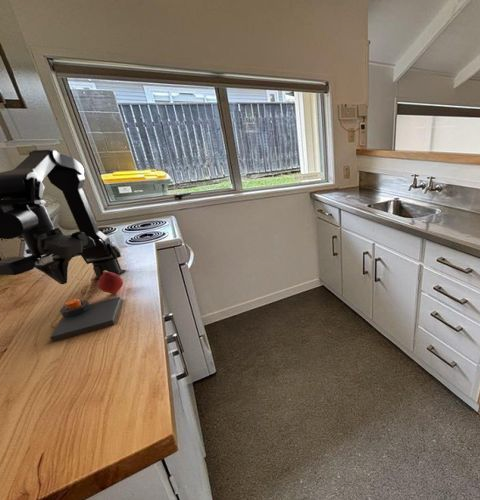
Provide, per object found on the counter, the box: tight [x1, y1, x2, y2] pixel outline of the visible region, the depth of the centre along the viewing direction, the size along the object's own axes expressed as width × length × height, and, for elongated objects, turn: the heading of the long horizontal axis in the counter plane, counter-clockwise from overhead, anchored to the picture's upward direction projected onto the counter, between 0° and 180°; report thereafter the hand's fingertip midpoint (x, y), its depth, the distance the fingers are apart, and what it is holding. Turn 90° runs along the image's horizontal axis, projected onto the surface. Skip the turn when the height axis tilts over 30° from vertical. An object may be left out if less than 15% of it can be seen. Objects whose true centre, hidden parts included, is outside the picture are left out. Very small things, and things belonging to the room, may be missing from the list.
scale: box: [49, 296, 123, 343], centre depth 75 cm, size 14×12×3 cm
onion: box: [97, 271, 124, 295], centre depth 87 cm, size 6×6×8 cm
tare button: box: [65, 298, 82, 309], centre depth 76 cm, size 3×3×2 cm
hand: (63, 283), depth 74 cm, fingers closed
